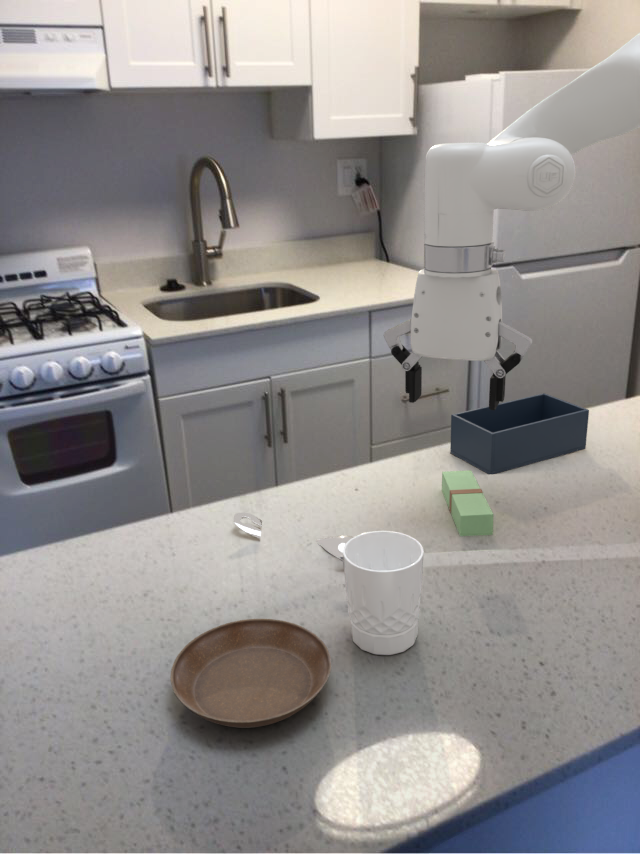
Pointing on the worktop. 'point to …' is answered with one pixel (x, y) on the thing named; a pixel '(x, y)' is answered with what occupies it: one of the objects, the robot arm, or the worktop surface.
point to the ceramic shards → (329, 543)
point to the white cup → (383, 590)
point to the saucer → (251, 672)
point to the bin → (518, 432)
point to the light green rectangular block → (467, 503)
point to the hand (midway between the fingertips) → (453, 402)
